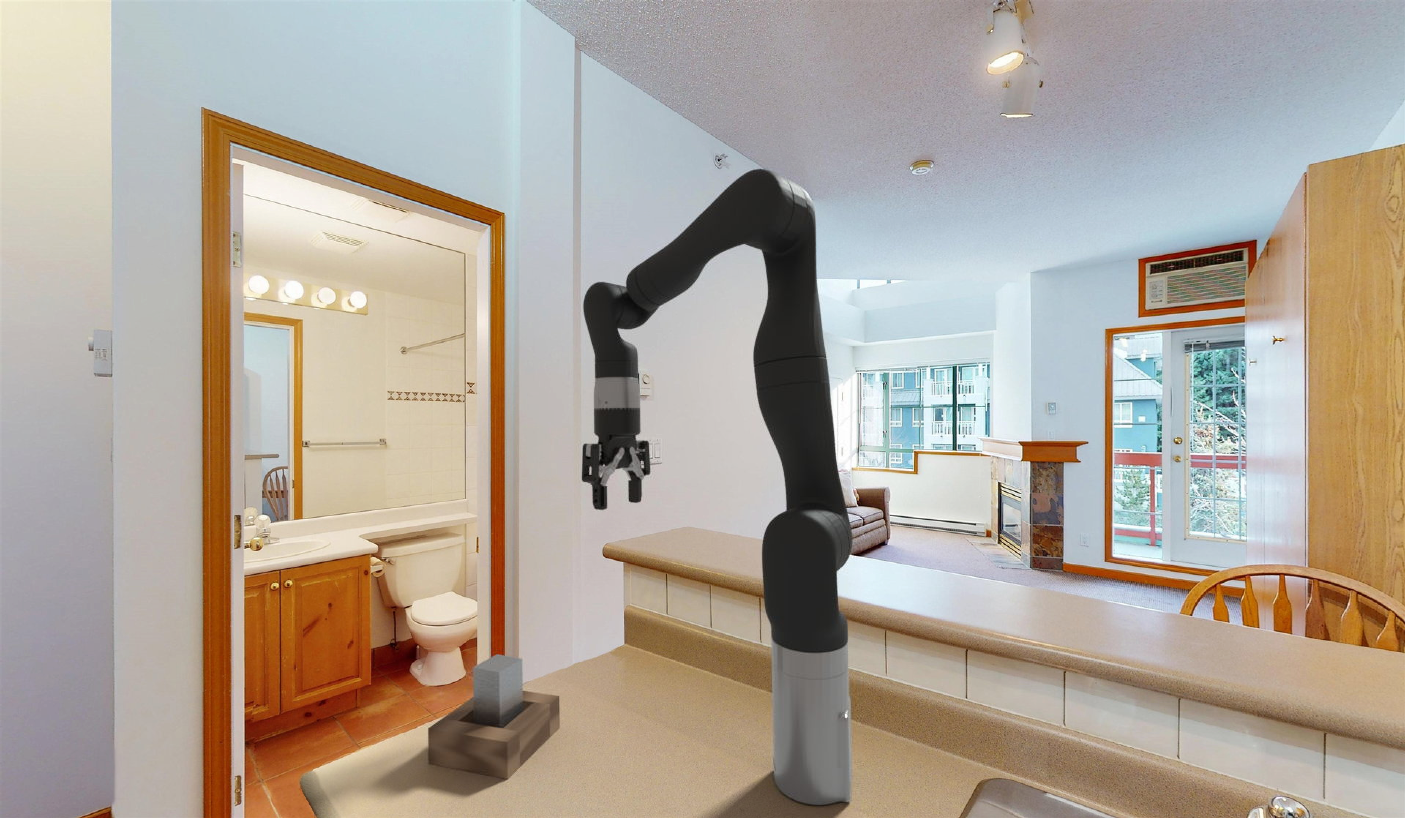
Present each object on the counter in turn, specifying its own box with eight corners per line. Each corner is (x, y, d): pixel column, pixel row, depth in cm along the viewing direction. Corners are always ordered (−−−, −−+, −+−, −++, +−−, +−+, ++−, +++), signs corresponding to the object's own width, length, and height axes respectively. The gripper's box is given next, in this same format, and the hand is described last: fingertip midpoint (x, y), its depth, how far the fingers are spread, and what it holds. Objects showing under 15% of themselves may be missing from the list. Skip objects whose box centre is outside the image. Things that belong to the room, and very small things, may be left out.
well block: (559, 727, 80) (559, 695, 81) (507, 779, 69) (507, 742, 69) (489, 715, 84) (488, 685, 84) (428, 763, 72) (428, 728, 73)
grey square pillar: (523, 738, 78) (522, 658, 78) (500, 756, 74) (499, 672, 74) (497, 732, 80) (496, 654, 80) (473, 749, 75) (473, 667, 76)
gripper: (605, 405, 84) (606, 514, 83) (661, 406, 96) (662, 501, 95) (568, 406, 88) (570, 510, 87) (627, 407, 100) (628, 498, 99)
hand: (618, 505), depth 91 cm, fingers open, 8 cm apart
